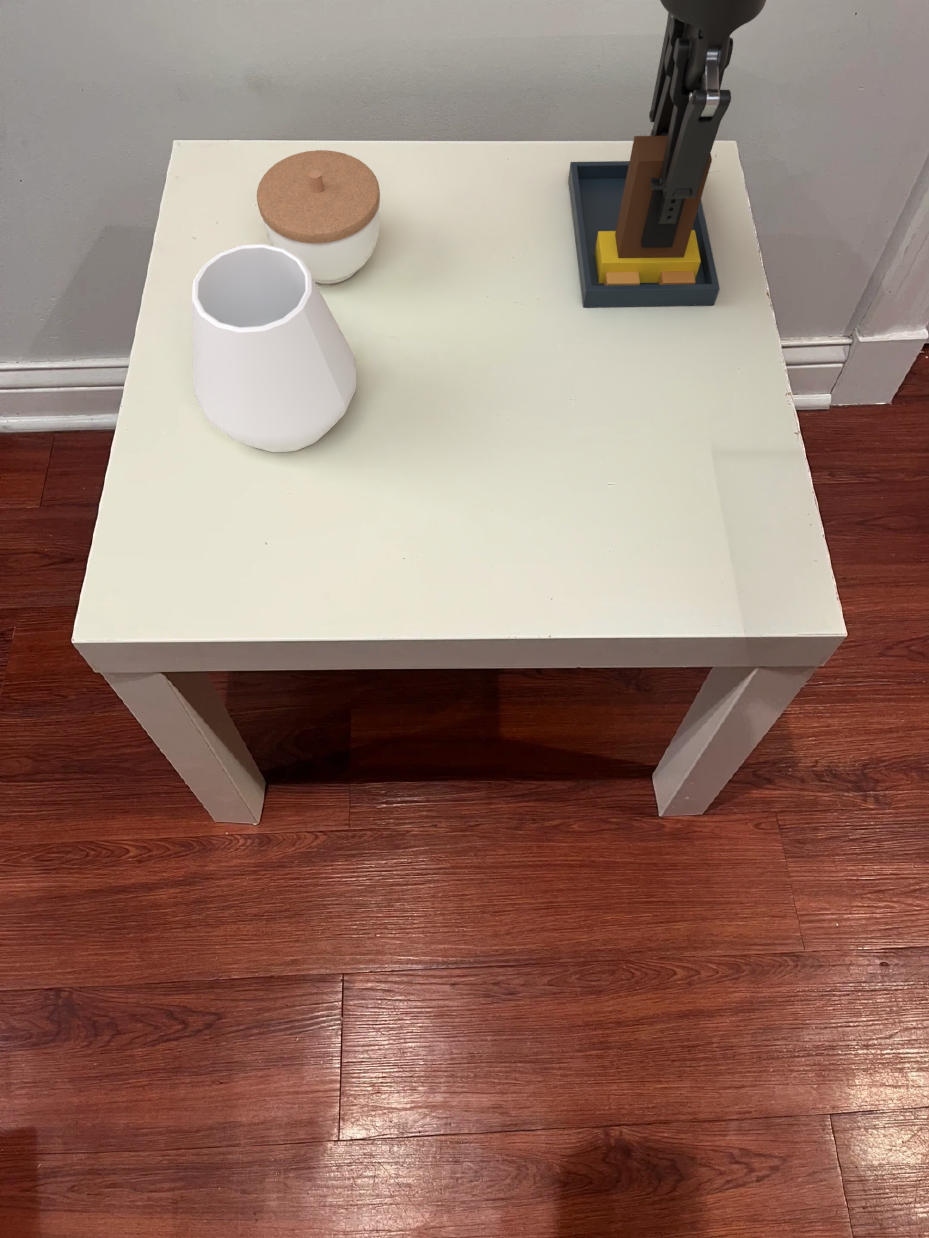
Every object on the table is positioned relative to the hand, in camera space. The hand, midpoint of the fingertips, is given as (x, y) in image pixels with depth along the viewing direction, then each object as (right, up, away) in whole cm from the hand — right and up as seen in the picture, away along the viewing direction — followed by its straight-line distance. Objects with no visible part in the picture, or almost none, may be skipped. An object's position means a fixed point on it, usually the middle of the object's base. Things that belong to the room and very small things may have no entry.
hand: (653, 229), depth 81 cm
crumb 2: (+3, -4, +3) cm, 6 cm away
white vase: (-33, -17, -3) cm, 37 cm away
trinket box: (-30, -1, +5) cm, 30 cm away
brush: (0, -2, +4) cm, 4 cm away
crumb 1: (-3, -4, +3) cm, 6 cm away
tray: (0, +2, +6) cm, 7 cm away
